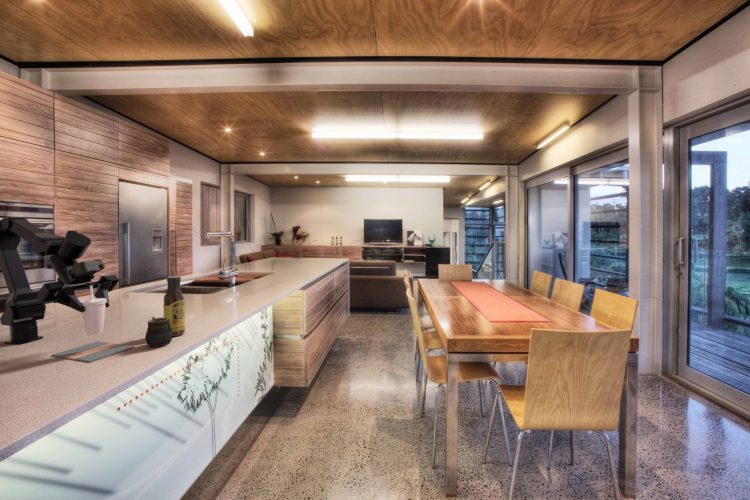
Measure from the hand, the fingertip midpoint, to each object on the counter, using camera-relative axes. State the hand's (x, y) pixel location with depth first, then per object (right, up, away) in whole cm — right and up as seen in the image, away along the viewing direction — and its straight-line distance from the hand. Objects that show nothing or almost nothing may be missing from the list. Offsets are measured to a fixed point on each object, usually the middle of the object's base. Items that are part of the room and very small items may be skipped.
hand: (96, 308), depth 98 cm
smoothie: (-1, -7, +1) cm, 7 cm away
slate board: (-1, -13, +1) cm, 13 cm away
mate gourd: (+14, -13, +6) cm, 20 cm away
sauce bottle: (+13, -12, +17) cm, 24 cm away
